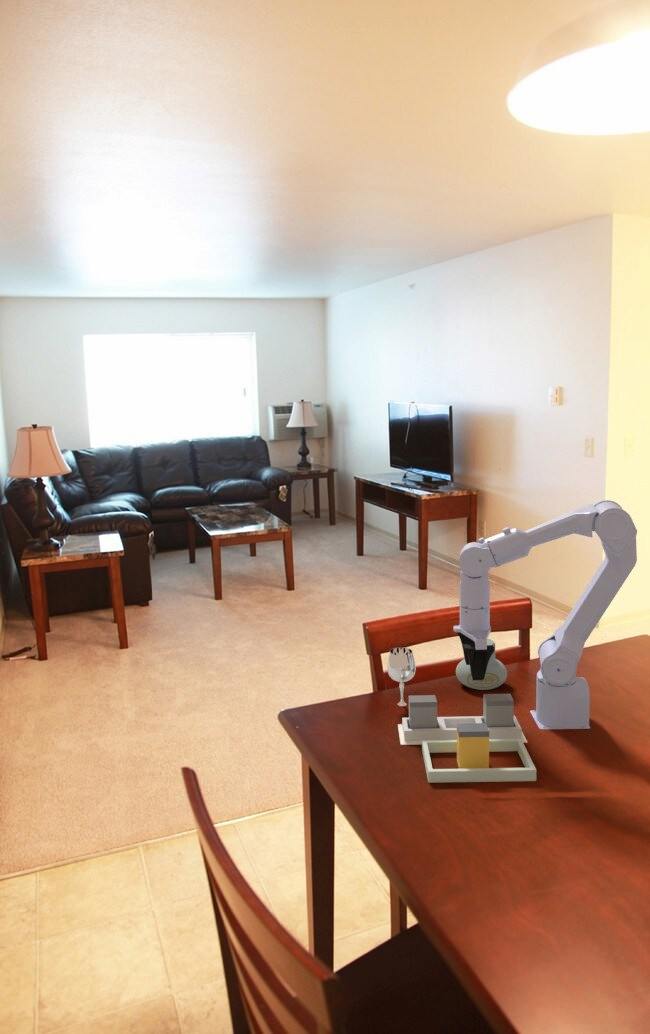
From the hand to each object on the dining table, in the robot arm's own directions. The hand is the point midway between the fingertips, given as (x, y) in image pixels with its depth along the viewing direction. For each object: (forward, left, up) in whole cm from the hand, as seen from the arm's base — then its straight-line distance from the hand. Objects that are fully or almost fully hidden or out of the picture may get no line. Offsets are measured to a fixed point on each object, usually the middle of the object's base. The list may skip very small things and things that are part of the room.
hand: (474, 671), depth 140 cm
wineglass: (+14, -5, -10) cm, 18 cm away
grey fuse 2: (-3, +8, -9) cm, 12 cm away
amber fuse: (+4, +20, -9) cm, 22 cm away
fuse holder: (+4, +8, -9) cm, 13 cm away
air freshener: (-4, -15, -10) cm, 18 cm away
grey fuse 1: (+11, +8, -9) cm, 16 cm away
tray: (+3, +20, -9) cm, 22 cm away
